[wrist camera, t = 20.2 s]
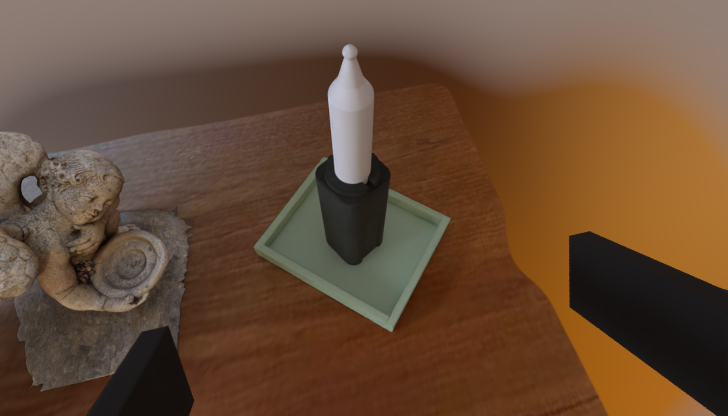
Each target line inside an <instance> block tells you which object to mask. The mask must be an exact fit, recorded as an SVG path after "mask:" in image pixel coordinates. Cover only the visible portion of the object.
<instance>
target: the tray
mask: <svg viewBox="0 0 728 416" xmlns="http://www.w3.org/2000/svg"><path fill="white" fill-rule="evenodd" d="M326 160H327V158H325V157H323V158H322V159H321V161H320V162H319V163H318V164H317V166H316V167H315V168H314V170H313V171H312V172H311V173H310V175H309V176H308V177H307V179H306V180H305V181H304V182H303V184H302V185H301V186H300V188H299V189H298V190H297V191H296V193H295V194H294V195H293V197H292V198H291V199H290V200H289V202H288V203H287V204H286V206H285V207H284V208H283V209H282V211H281V212H280V213H279V215H278V216H277V217H276V218H275V220H274V221H273V222H272V224H271V225H270V226H269V227H268V229H267V230H266V231H265V233H264V234H263V235H262V236H261V238H260V239H259V240H258V242H257V243H256V244H255V245H254V249H255V251H256V253H257V254H258V255H259V256H261V257H263V258H265V259H266V260H268V261H270V262H271V263H273V264H275V265H277V266H278V267H280V268H282V269H284V270H285V271H287V272H289V273H290V274H292V275H294V276H296V277H297V278H299V279H301V280H302V281H304V282H306V283H308V284H309V285H311V286H313V287H315V288H316V289H318V290H320V291H321V292H323V293H325V294H327V295H328V296H330V297H332V298H333V299H335V300H337V301H339V302H340V303H342V304H344V305H346V306H347V307H349V308H351V309H352V310H354V311H356V312H358V313H359V314H361V315H363V316H364V317H366V318H368V319H370V320H371V321H373V322H375V323H377V324H378V325H380V326H382V327H383V328H385V329H387V330H389V331H390V332H392V331H393V329H394V327H395V325H396V324H397V322H398V320H399V318H400V316H401V314H402V312H403V310H404V308H405V306H406V305H407V303H408V301H409V299H410V297H411V295H412V293H413V291H414V289H415V287H416V285H417V284H418V282H419V280H420V278H421V276H422V274H423V272H424V270H425V268H426V266H427V265H428V263H429V261H430V259H431V257H432V255H433V253H434V251H435V249H436V247H437V245H438V244H439V242H440V240H441V238H442V236H443V234H444V232H445V230H446V228H447V226H448V224H449V222H450V219H451V218H449V217H447V216H445V215H443V214H441V213H439V212H437V211H435V210H433V209H430V208H428V207H426V206H424V205H422V204H420V203H418V202H416V201H414V200H412V199H410V198H408V197H406V196H404V195H402V194H399V193H397V192H395V191H393V190H391V189H389V192H388V200H387V208H386V216H385V224H384V232H383V240H382V244H381V245H380V246H379V247H376V248H375V249H373V250H372V251H371V252H370V253H369V254H368V255H367V256H366V257H364V258H363V259H362V262H361V263H360V264H358V265H350V264H348V263H346V262H345V261H344V260H343V259H342V258H341V257H340V256H339V255H338V254H337V253H336V252H335V251H334V250H333V249H332V248H331V247H330V246H329V245H328V243H327V241H326V236H325V230H324V224H323V218H322V212H321V207H320V201H319V195H318V189H317V184H316V178H315V172H316V169H317V167H318V166H319V165H320V164H322V163H323V162H324V161H326Z"/></svg>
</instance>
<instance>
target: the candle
mask: <svg viewBox="0 0 728 416" xmlns="http://www.w3.org/2000/svg"><path fill="white" fill-rule="evenodd" d="M357 52H358V51H357V49H356V47H354V46H353V45H347V46H345V47H344V48H343V51H342V53H343V56H344V60H343V63H342V66H341V69H340V72H339V76H338V77H337V78H336V79H335V80H334V81H333V83H332V84H331V86H330V87H329V90H328V103H329V114H330V124H331V135H332V146H333V156H332V155H330V156H329V157H328V159H327V160H326V161H324V162H323V163H322V164H320V165H319V166H318V167H317V169H316V172H315V178H316V184H317V189H318V195H319V201H320V207H321V212H322V218H323V224H324V230H325V236H326V241H327V243H328V245H329V246H330V247H331V248H332V249H333V250H334V251H335V252H336V253H337V254H338V255H339V256H340V257H341V258H342V259H343V260H344V261H345V262H346V263H348V264H350V265H358V264H360V263H361V262H362V259H363V258H364V257H366V256H367V255H368V254H369V253H370V252H371V251H372V250H373V249H375V248H376V247H379V246H380V245H381V244H382V240H383V232H384V224H385V216H386V208H387V200H388V192H389V184H390V176H391V174H390V171H389V169H388V168H387V167H386V166H385V165H384V164H383V163H382V162H381V161H379V160H378V158H377V157H376V156H375V154H374V153H372V134H373V112H374V90H373V87H372V86H371V84H370V83H369V82H368V81H367V80H366V79H365V78H364V77H363V75H362V72H361V70H360V67H359V64H358V62H357V59H356V56H357V54H358V53H357Z"/></svg>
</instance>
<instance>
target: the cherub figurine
mask: <svg viewBox="0 0 728 416" xmlns="http://www.w3.org/2000/svg"><path fill="white" fill-rule="evenodd" d="M28 176H35V177H36V178H37V180H38V181H37V186H38V187H39V188H40V189H41V191H42V192H43V194H41V195H40V196H38V197H37V198H35V199H34V200H33V201H32V202H31V204H30V203H29V202H28V201H27V200H26V199H25V198H24V197H23V195H22V192H21V183H22V180H23V179H24V178H26V177H28ZM123 183H124V177H123V176H122V173H121V171H120V170H119V168H118V167H117V166H116V165H115V164H114V163H113V162H112V161H111V160H109V159H108V158H107V157H105V156H104V155H102V154H100V153H98V152H95V151H89V150H78V151H74V152H72V153H70V154H66V155H63V156H54V157H52V158H50V159H49V158H48V156H47V153H46V152H45V150H44V148H43V147H42V146H41V145H40V143H39V142H38V141H36V140H34V139H33V138H32V137H31V136H28V135H25V134H21V133H16V132H0V301H2V300H4V299H6V298H15V308H16V316H17V317H18V318H19V322H20V324H21V325H19V327H18V330H19V331H18V332H17V338H18V340H19V341H20V342H23V341H24V342H25V346H24V348H25V354H26V357H27V360H26V361H25V362H26V366H27V369H28V371H29V374H30V375H32V376H33V383H32V384H31V386H30V387H29V388H28V389H27V390H26V391H25V392H27V391H28V390H29V389H30V388H32V387H33V386H34V385H40V384H43V387H42V388H41V392H42V391H46V390H50V389H54V388H58V387H62V386H66V385H71V384H75V383H79V382H83V381H87V380H91V379H95V378H100V377H104V376H108V375H112V374H114V373H115V371H116V370H117V368H118V367H119V365H120V364H121V362H122V361H123V359H124V358H125V356H126V355H127V353H128V352H129V350H130V349H131V347H132V346H133V344H134V342H135V341H136V339H137V338H138V336H139V335H140V333H141V332H142V331H147V330H151V329H156V328H160V327H165V326H169V329H170V331H171V334H172V337H173V340H174V343H175V346H176V349H177V348H178V345H177V344H178V342H179V341H178V337H177V336H178V332H179V321H180V302H181V300H182V296H183V293H184V291H185V290H186V289H187V288H185V289H184V285H185V283H182V282H181V280H183V279H184V278H185V276H184V273H185V272H186V271H187V270H186V264H187V261H188V258H186V257H187V256H188V255H189V254H188V251H187V250H189V245H188V243H187V242H188V241H187V240H188V238H189V237H191V236H192V235H194V234H189V233H187V229H189V228H193V221H191V220H187V219H182V218H178V217H177V206H176V208H175V209H174V210H173V211H172V212H169V211H161V209H160V210H159V211H156V210H147V211H129V212H123V213H118V211H117V210H116V208H117V207H118V205H119V202H120V198H119V194H120V192H121V190H122V186H123ZM177 341H178V342H177ZM25 392H24V393H25ZM24 393H23V394H24ZM23 394H22V395H23Z"/></svg>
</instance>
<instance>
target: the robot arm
mask: <svg viewBox="0 0 728 416" xmlns="http://www.w3.org/2000/svg"><path fill="white" fill-rule="evenodd" d="M569 270H570V271H569V277H570V279H569V283H570V284H569V287H570V289H569V292H570V308H572V309H573V310H574V311H576V312H577V313H579V314H580V315H581V316H582V317H584V318H585V319H586V320H588V321H589V322H590V323H592V324H593V325H595V326H596V327H597V328H599V329H600V330H601V331H603V332H604V333H606V334H607V335H608V336H609V337H611V338H612V339H614V340H615V341H616V342H618V343H619V344H620V345H622V346H623V347H624V348H626V349H627V350H628V351H630V352H631V353H632V354H634V355H635V356H637V357H638V358H639V359H641V360H642V361H643V362H645V363H646V364H648V365H649V366H650V367H651V368H653V369H654V370H656V371H657V372H658V373H660V374H661V375H662V376H664V377H665V378H667V379H668V380H669V381H670V382H672V383H673V384H674V385H676V386H677V387H678V388H680V389H681V390H683V391H684V392H686V393H687V394H688V395H689V396H691V397H692V398H694V399H695V400H696V401H698V402H699V403H700V404H702V405H703V406H704V407H706V408H707V409H708V410H710V411H711V412H713V413H714V414H715V415H716V416H728V290H725V289H722V288H719V287H716V286H714V285H712V284H710V283H708V282H705V281H703V280H701V279H698V278H695V277H694V276H691V275H689V274H687V273H684V272H682V271H680V270H678V269H675V268H673V267H670V266H668V265H666V264H664V263H661V262H659V261H657V260H654V259H652V258H650V257H647V256H645V255H643V254H640V253H638V252H636V251H634V250H631V249H629V248H627V247H625V246H622V245H620V244H617V243H615V242H613V241H611V240H608V239H606V238H604V237H601V236H599V235H597V234H595V233H592V232H590V231H589V232H585V233H580V234H576V235H571V236H569ZM193 402H194V399H193V396H192V393H191V390H190V387H189V384H188V381H187V378H186V375H185V373H184V370H183V367H182V364H181V361H180V358H179V355H178V352H177V349H176V346H175V343H174V340H173V337H172V334H171V331H170V329H169V326H165V327H160V328H156V329H151V330H147V331H142V332H141V333H140V335H139V336H138V338H137V339H136V341H135V342H134V344H133V346H132V347H131V349H130V350H129V352H128V353H127V355H126V356H125V358H124V359H123V361H122V362H121V364H120V365H119V367H118V368H117V370H116V371H115V373H114V374H113V376H112V377H111V379H110V380H109V382H108V383H107V385H106V387H105V388H104V390H103V391H102V393H101V394H100V396H99V397H98V399H97V400H96V402H95V403H94V405H93V406H92V408H91V409H90V411H89V412H88V414H87V415H86V416H189V414H190V411H191V408H192V405H193Z"/></svg>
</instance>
